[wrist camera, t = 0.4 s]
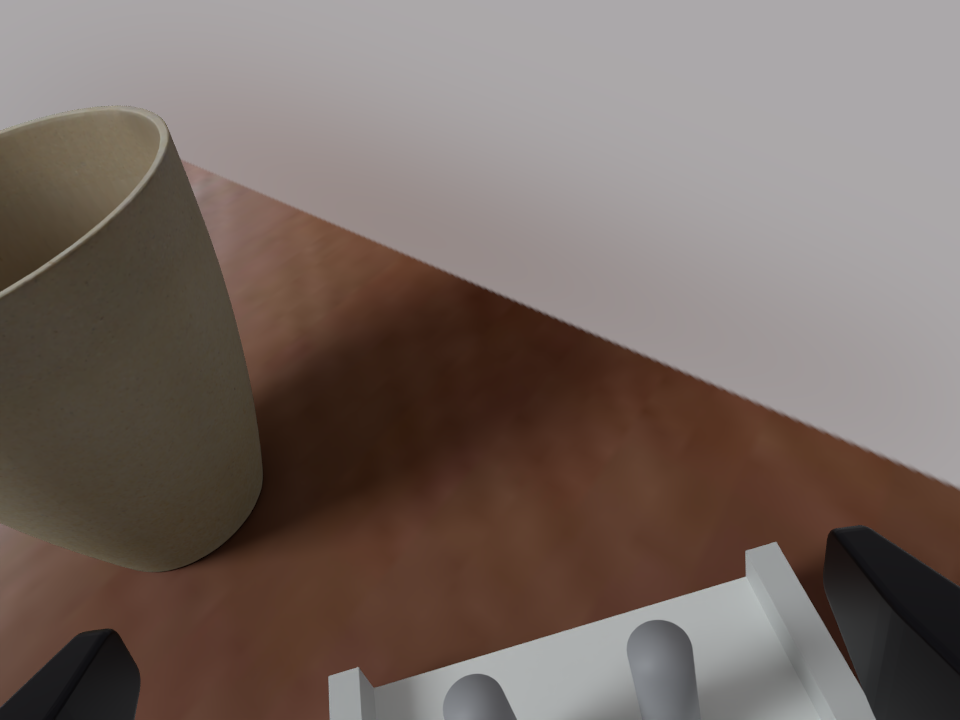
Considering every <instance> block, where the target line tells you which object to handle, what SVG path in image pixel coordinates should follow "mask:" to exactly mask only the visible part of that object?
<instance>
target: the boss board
mask: <svg viewBox="0 0 960 720" xmlns="http://www.w3.org/2000/svg"><path fill="white" fill-rule="evenodd" d="M329 708H330V720H876V719H875V717H874V715H873V713H872V710H871V708H870V706H869V703H868V701H867V698H866V696H865V694H864V692H863V690H862V689H861V687H860V685H859V683H858V682H857V680H856V678H855V676H854V675H853V673H852V671H851V670H850V668H849V666H848V664H847V663H846V661H845V659H844V658H843V656H842V654H841V652H840V651H839V649H838V647H837V646H836V644H835V642H834V640H833V639H832V637H831V635H830V634H829V632H828V630H827V628H826V627H825V625H824V623H823V622H822V620H821V618H820V616H819V615H818V613H817V611H816V610H815V608H814V606H813V604H812V603H811V601H810V599H809V598H808V596H807V594H806V592H805V591H804V589H803V587H802V586H801V584H800V582H799V580H798V579H797V577H796V575H795V574H794V572H793V570H792V568H791V567H790V565H789V563H788V561H787V560H786V558H785V556H784V555H783V553H782V551H781V549H780V548H779V546H778V544H777V543H776V542H774V543H771V544H767V545H764V546H761V547H757V548H754V549H751V550H747V551H746V577H744V578H740V579H737V580H734V581H730V582H727V583H724V584H720V585H717V586H713V587H710V588H707V589H703V590H700V591H697V592H693V593H690V594H687V595H683V596H680V597H677V598H673V599H670V600H667V601H663V602H660V603H657V604H653V605H650V606H647V607H643V608H640V609H637V610H633V611H630V612H627V613H623V614H620V615H617V616H613V617H610V618H607V619H603V620H600V621H597V622H593V623H590V624H587V625H583V626H580V627H577V628H573V629H570V630H567V631H563V632H560V633H557V634H553V635H550V636H547V637H543V638H540V639H537V640H533V641H530V642H527V643H523V644H520V645H517V646H513V647H510V648H507V649H503V650H500V651H497V652H493V653H490V654H487V655H483V656H480V657H477V658H473V659H470V660H467V661H463V662H460V663H457V664H453V665H450V666H447V667H443V668H440V669H437V670H433V671H430V672H426V673H423V674H420V675H416V676H413V677H410V678H406V679H403V680H400V681H396V682H393V683H390V684H386V685H383V686H380V687H376V688H373V687H372V685H371V684H370V682H369V681H368V680H367V678H366V677H365V676H364V674H363V673H362V671H361V670H360V669H359V667H358V668H354V669H351V670H348V671H344V672H341V673H338V674H334V675H331V676H329Z"/></svg>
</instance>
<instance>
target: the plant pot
mask: <svg viewBox="0 0 960 720" xmlns="http://www.w3.org/2000/svg"><path fill="white" fill-rule="evenodd" d="M262 480H263V468H262V456H261V448H260V441H259V433H258V425H257V419H256V413H255V406H254V401H253V395H252V390H251V385H250V380H249V374H248V370H247V366H246V361H245V357H244V353H243V348H242V344H241V340H240V336H239V332H238V328H237V324H236V320H235V316H234V313H233V309H232V305H231V302H230V298H229V295H228V292H227V288H226V285H225V282H224V278H223V275H222V272H221V268H220V265H219V262H218V259H217V256H216V253H215V250H214V247H213V245H212V242H211V239H210V236H209V233H208V230H207V228H206V225H205V222H204V220H203V217H202V214H201V212H200V209H199V206H198V204H197V201H196V198H195V196H194V193H193V191H192V188H191V185H190V183H189V180H188V177H187V175H186V172H185V170H184V167H183V165H182V162H181V160H180V157H179V155H178V152H177V150H176V147H175V145H174V142H173V140H172V137H171V135H170V132H169V130H168V127H167V125H166V123H165V122H164V121H163V119H161V118H160V117H159V116H158V115H156V114H154V113H152V112H150V111H147V110H144V109H141V108H136V107H131V106H101V107H92V108H85V109H77V110H72V111H67V112H62V113H58V114H54V115H50V116H46V117H42V118H39V119H35V120H31V121H28V122H25V123H22V124H19V125H15V126H12V127H10V128H6V129H3V130H1V131H0V523H1V524H3V525H6V526H8V527H11V528H13V529H15V530H18V531H20V532H23V533H25V534H28V535H30V536H33V537H36V538H38V539H41V540H44V541H46V542H49V543H51V544H54V545H57V546H60V547H63V548H66V549H69V550H72V551H74V552H77V553H81V554H84V555H87V556H90V557H93V558H96V559H100V560H103V561H106V562H109V563H113V564H116V565H119V566H123V567H126V568H130V569H134V570H138V571H144V572H162V571H169V570H173V569H176V568H180V567H183V566H185V565H188V564H190V563H193V562H195V561H197V560H199V559H200V558H202V557H204V556H206V555H208V554H209V553H211V552H212V551H214V550H215V549H217V548H218V547H219V546H221V545H222V544H223V543H224V542H226V541H227V540H228V539H229V538H230V537H231V536H232V535H233V534H234V533H235V532H236V531H237V530H238V529H239V527H240V526H241V525H242V524H243V523H244V521H245V520H246V519H247V517H248V516H249V515H250V513H251V511H252V510H253V508H254V506H255V504H256V502H257V499H258V497H259V494H260V491H261V488H262Z"/></svg>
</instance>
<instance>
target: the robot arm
mask: <svg viewBox="0 0 960 720" xmlns="http://www.w3.org/2000/svg"><path fill="white" fill-rule="evenodd" d="M823 583H824V589H825V592H826V596H827V598H828V601H829V604H830V606H831V609H832V611H833V614H834V616H835V619H836V621H837V624H838V627H839V629H840V632H841V634H842V637H843V639H844V642H845V645H846V647H847V650H848V652H849V655H850V657H851V660H852V663H853V665H854V668H855V670H856V673H857V675H858V678H859V681H860V683H861V686H862V688H863V691H864V693H865V696H866V698H867V701H868V703H869V706H870V708H871V710H872V713H873V715H874V717H875V719H876V720H960V587H959V586H958V585H956V584H955V583H953V582H952V581H950V580H948V579H947V578H945V577H944V576H942V575H941V574H939V573H938V572H936V571H935V570H933V569H932V568H930V567H929V566H927V565H926V564H924V563H922V562H921V561H919V560H918V559H916V558H915V557H913V556H912V555H910V554H909V553H907V552H906V551H904V550H903V549H901V548H900V547H898V546H897V545H895V544H893V543H892V542H890V541H889V540H887V539H886V538H884V537H883V536H881V535H880V534H878V533H877V532H875V531H874V530H872V529H870V528H868V527H866V526H862V525H858V526H851V527H844V528H836V529H833V530H831V531H830V533H829V534H828V538H827V545H826V554H825V562H824V571H823ZM139 692H140V673H139V669H138V667H137V665H136V663H135V662H134V660H133V658H132V656H131V655H130V653H129V651H128V649H127V648H126V646H125V644H124V643H123V641H122V639H121V637H120V636H119V634H118V633H117V632H116V631H114V630H113V629H101V630H93V631H86V632H82V633H80V634H78V635H77V636H75V637H74V638H73V639H72V640H71V641H70V642H69V643H68V644H67V645H65V646H64V647H63V648H62V649H61V650H60V651H59V652H58V653H57V654H56V655H55V656H54V657H53V658H52V659H51V660H50V661H49V662H48V663H47V664H46V665H44V666H43V667H42V668H41V669H40V670H39V671H38V672H37V673H36V674H35V675H34V676H33V677H32V678H31V679H30V680H29V681H28V682H27V683H26V684H24V685H23V686H22V687H21V688H20V689H19V690H18V691H17V692H16V693H15V694H14V695H13V696H12V697H11V698H10V699H9V700H8V701H7V702H6V703H5V704H3V705H2V706H1V707H0V720H134V719H135V714H136V708H137V703H138V697H139Z"/></svg>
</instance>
